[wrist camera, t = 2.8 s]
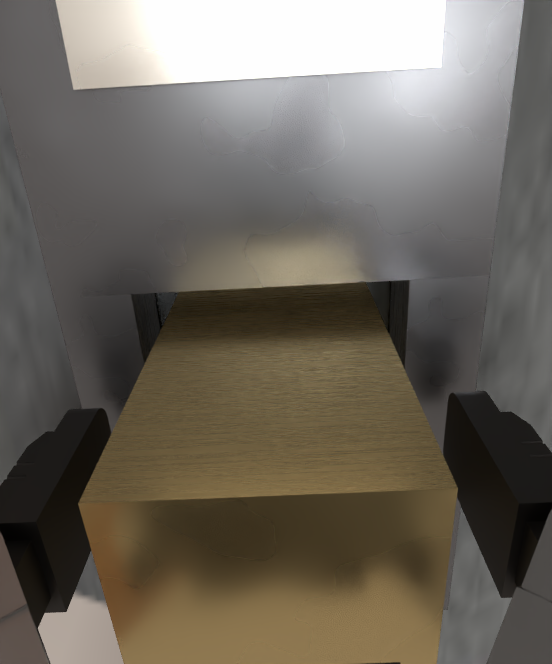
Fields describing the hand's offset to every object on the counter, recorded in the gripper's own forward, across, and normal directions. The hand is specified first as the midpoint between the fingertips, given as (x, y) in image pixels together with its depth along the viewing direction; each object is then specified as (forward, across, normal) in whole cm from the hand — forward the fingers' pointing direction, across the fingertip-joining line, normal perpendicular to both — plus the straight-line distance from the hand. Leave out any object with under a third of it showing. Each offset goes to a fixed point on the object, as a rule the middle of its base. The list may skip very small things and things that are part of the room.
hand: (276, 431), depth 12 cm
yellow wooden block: (+3, 0, 0) cm, 3 cm away
